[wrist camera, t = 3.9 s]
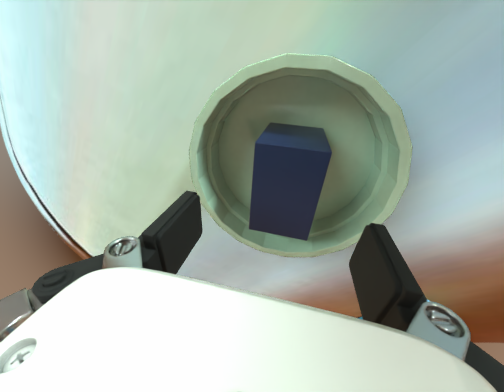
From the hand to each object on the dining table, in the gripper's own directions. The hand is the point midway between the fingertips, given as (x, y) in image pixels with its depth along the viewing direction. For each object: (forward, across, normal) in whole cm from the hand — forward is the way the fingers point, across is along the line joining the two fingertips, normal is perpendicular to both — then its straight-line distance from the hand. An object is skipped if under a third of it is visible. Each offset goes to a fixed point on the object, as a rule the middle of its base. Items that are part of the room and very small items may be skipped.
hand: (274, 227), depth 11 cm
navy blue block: (+9, 0, 0) cm, 9 cm away
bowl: (+10, 0, 0) cm, 10 cm away
